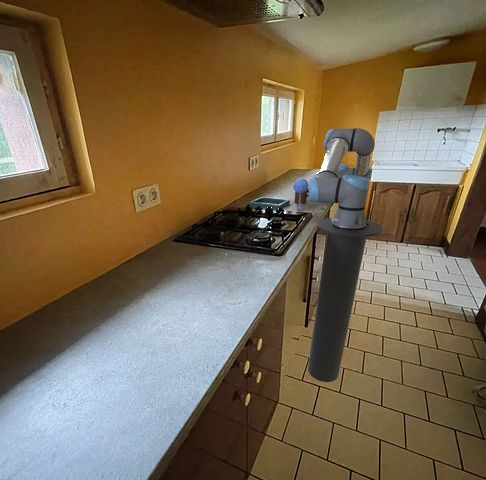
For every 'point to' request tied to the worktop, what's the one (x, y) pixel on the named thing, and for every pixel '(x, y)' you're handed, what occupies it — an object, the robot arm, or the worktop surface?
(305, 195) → the mug
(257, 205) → the tray
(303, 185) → the baby rattle
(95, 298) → the worktop surface
